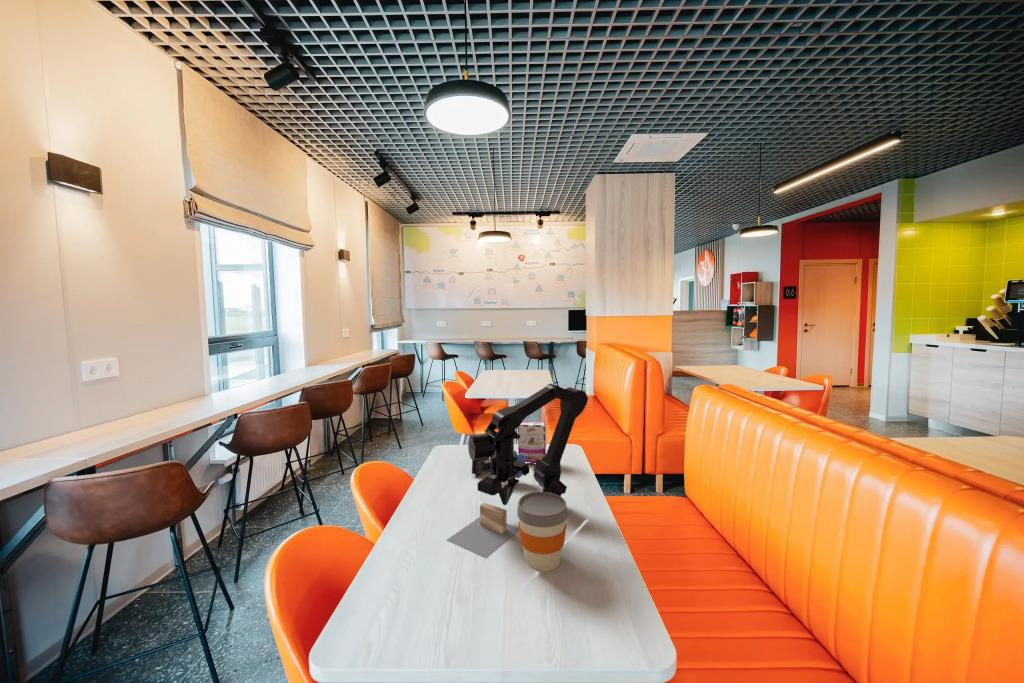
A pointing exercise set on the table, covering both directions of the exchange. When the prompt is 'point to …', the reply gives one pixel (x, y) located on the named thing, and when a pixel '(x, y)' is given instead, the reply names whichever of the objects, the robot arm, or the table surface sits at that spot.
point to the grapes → (520, 459)
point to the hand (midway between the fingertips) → (504, 504)
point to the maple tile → (493, 517)
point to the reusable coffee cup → (542, 529)
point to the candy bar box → (532, 441)
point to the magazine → (474, 462)
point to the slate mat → (481, 538)
